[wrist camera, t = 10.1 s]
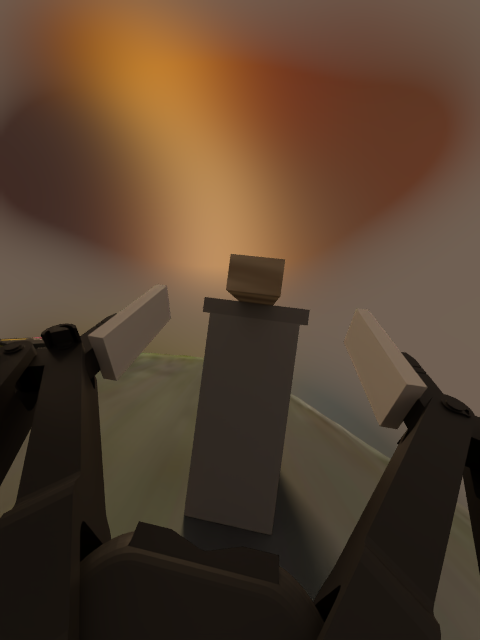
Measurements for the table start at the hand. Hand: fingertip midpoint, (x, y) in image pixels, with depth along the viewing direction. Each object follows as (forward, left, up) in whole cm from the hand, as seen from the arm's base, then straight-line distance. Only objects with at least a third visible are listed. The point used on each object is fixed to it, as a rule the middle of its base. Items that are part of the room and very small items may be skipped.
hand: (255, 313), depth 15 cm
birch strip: (-1, +16, +2) cm, 17 cm away
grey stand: (-1, +22, -28) cm, 36 cm away
